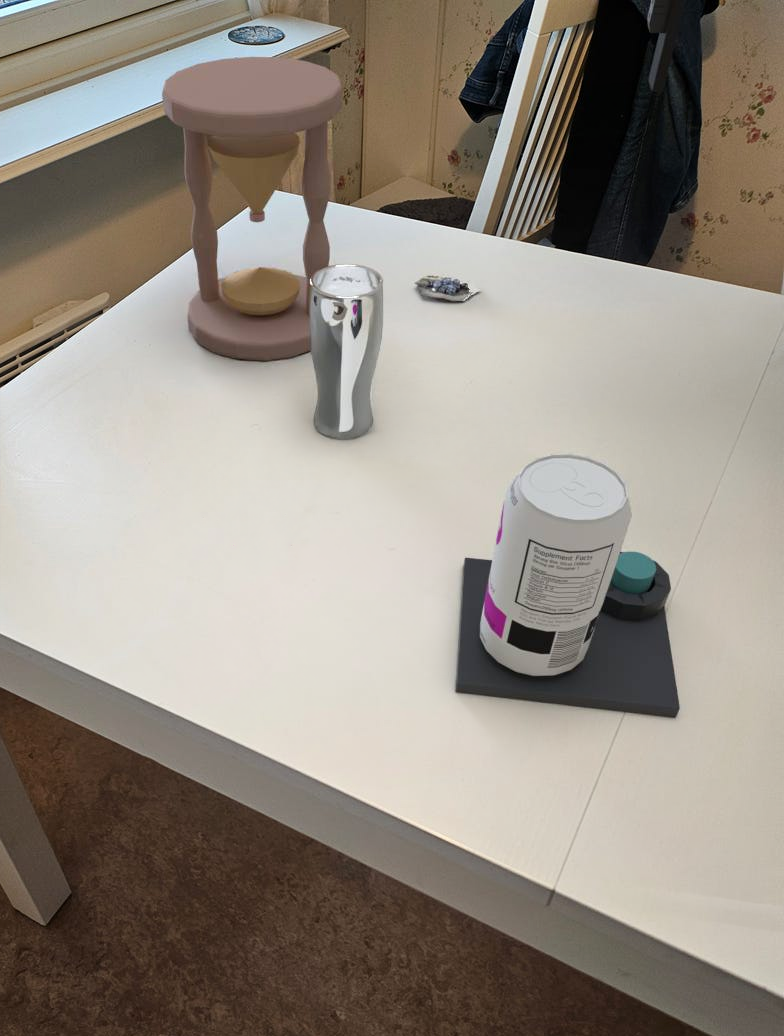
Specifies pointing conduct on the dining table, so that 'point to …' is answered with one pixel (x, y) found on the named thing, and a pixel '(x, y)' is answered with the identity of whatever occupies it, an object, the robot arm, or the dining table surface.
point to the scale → (606, 665)
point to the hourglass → (254, 191)
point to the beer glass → (345, 346)
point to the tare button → (633, 573)
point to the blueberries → (443, 288)
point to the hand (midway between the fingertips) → (754, 90)
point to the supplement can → (553, 562)
